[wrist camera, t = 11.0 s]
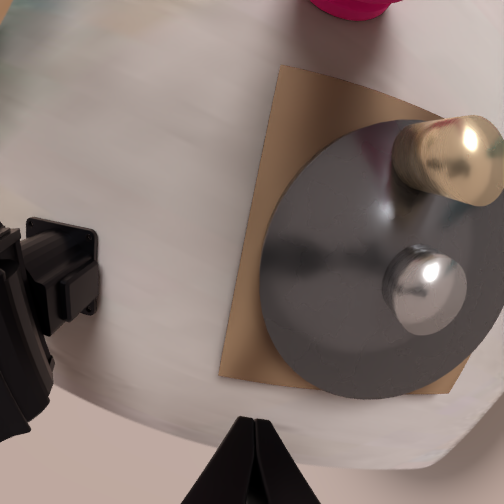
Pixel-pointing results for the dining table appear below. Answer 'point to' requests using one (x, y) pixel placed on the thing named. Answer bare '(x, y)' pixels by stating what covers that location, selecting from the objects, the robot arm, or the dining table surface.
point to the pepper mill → (354, 8)
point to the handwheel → (387, 256)
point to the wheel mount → (270, 190)
